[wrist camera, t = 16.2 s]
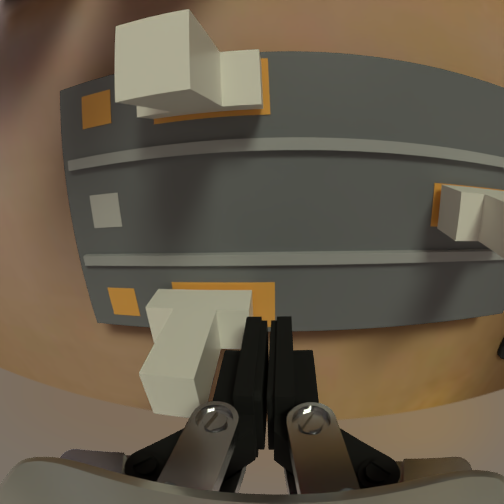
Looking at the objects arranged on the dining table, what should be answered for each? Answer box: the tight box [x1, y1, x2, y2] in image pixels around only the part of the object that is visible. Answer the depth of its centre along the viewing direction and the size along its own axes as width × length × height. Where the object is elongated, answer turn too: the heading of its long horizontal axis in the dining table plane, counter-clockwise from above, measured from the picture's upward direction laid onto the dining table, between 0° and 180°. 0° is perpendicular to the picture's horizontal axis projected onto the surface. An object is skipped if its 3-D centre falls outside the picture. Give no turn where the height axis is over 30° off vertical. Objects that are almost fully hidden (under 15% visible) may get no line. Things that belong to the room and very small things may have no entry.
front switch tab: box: [115, 9, 263, 119], centre depth 8 cm, size 4×2×6 cm, turn 92°
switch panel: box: [60, 52, 504, 331], centre depth 13 cm, size 24×13×2 cm, turn 92°
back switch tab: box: [139, 289, 253, 418], centre depth 12 cm, size 4×2×6 cm, turn 92°
